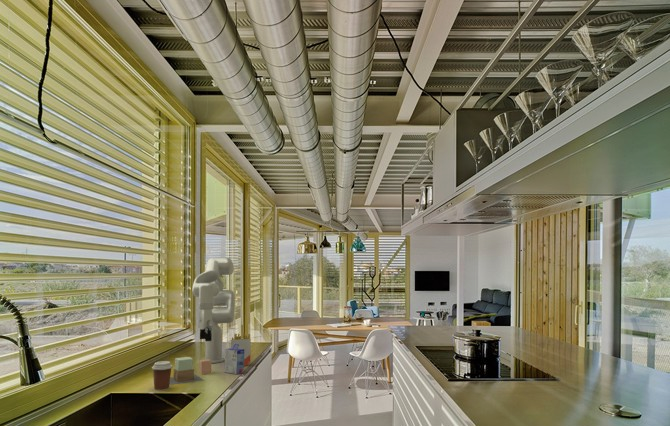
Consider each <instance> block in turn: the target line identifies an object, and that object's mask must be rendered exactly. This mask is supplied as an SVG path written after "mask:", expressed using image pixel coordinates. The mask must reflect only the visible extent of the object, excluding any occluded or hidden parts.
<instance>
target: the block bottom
mask: <svg viewBox="0 0 670 426" xmlns="http://www.w3.org/2000/svg"><path fill="white" fill-rule="evenodd" d="M194 374H195V369H194V368H193V369H191V370H183V371H178V370H176V369H175V367H174V368H173V379H174V380H175V381H177V382H181V381H189V380H194Z"/></svg>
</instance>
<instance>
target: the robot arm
mask: <svg viewBox="0 0 670 426" xmlns="http://www.w3.org/2000/svg"><path fill="white" fill-rule="evenodd" d="M234 270H235V266H234V263H233V261H232V259H231V258H230V257H222V256H220V257H218V256H217V257H216V256H215V257H211V258H209V259H208V260H207V262H206V263H205V266H204V271H203V272H202V273H200V274H198V275H197V276H196V277H195V278H194V281H193V284H192V290H191V291H192V292H191V293H192V295H193V296H194V297H197V298H198V311H199V313H198V314H199V315H198V323H197V324H198V329H199V340H204V341H205V344H204V345H205V353H204V355H205V356H204V358H203V359H202V360H205V359H209V360H211V364H218V363H219V364H220V363H223V362H225V357H223V356H222V355H223V330H222V328H221V327H220V325H219V324H230V323H233V322H234V320H235V313H236V312H235V311H236V310H235V307H236V305H235V304H236V296H235V292H234V291H233V290H231V289H224V281H222V279H221V278H220V276H231V275H232V274H233V273H234Z"/></svg>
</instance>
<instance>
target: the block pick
mask: <svg viewBox="0 0 670 426" xmlns="http://www.w3.org/2000/svg"><path fill="white" fill-rule="evenodd" d="M204 359H205V358H204ZM198 374H200V375H202V376H203V375H210V374H212V363H211V360H209V359H205V360H203V359H199V361H198Z"/></svg>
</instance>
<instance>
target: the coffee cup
mask: <svg viewBox="0 0 670 426" xmlns="http://www.w3.org/2000/svg"><path fill="white" fill-rule="evenodd" d="M173 367H174V365H172V363H171V361H167V360H164V361H163V360H162V361H157V362H155V363H154V364H153V366H151V370H152V373H153V389H154V390H155V391H166V390H169V389H170V386H171V385H170V378H171V374H172V369H174V368H173Z"/></svg>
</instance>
